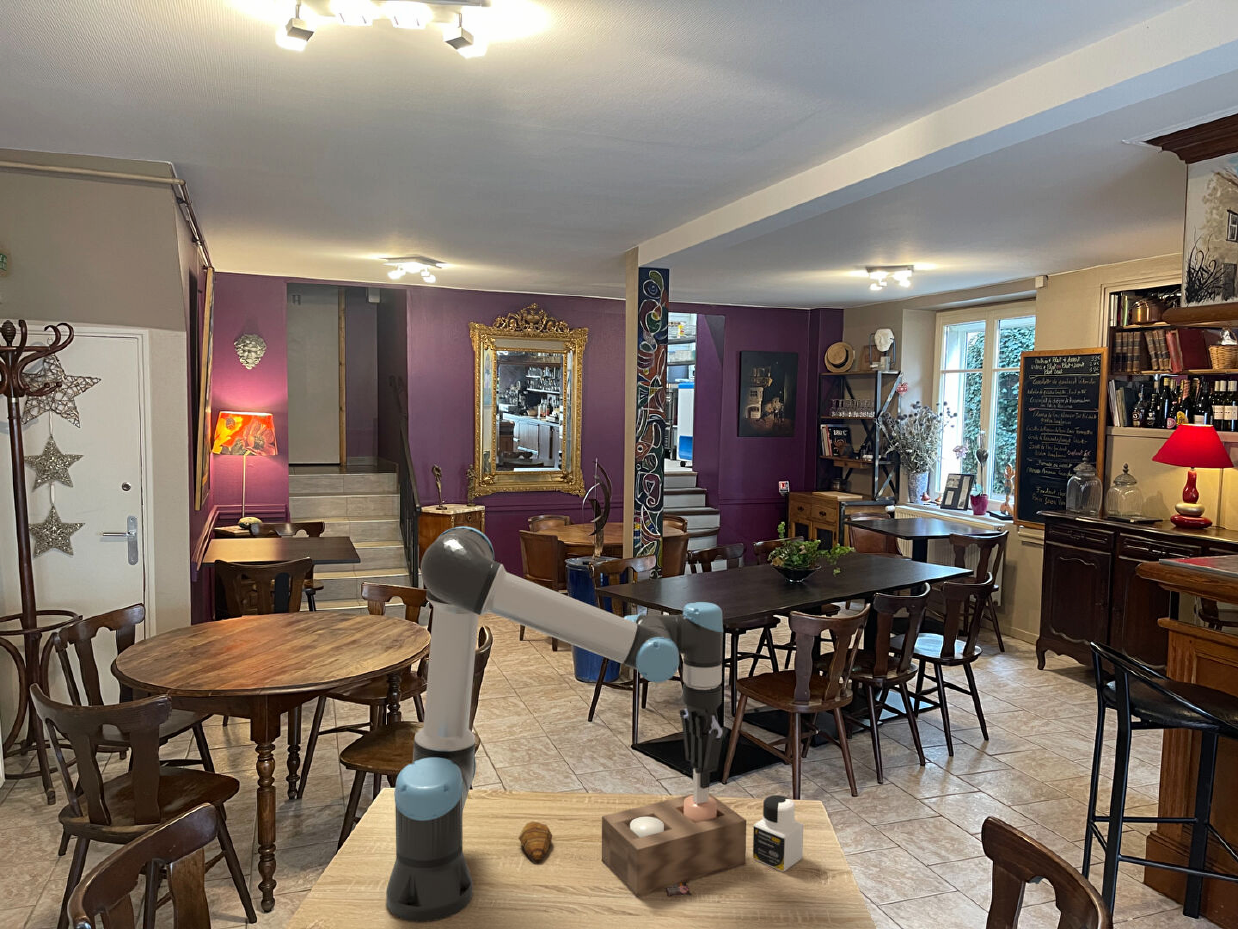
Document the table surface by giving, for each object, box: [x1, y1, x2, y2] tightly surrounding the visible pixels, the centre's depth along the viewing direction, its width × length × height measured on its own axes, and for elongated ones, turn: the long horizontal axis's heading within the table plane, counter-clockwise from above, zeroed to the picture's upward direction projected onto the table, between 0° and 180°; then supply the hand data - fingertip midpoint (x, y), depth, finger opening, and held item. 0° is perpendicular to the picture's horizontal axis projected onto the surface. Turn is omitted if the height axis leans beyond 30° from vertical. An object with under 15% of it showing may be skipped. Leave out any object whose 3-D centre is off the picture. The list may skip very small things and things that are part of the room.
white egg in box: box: [630, 817, 664, 837], centre depth 166 cm, size 6×6×8 cm
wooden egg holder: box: [601, 792, 747, 898], centre depth 169 cm, size 24×14×9 cm, turn 118°
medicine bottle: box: [752, 794, 804, 873], centre depth 171 cm, size 7×7×12 cm
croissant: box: [518, 821, 553, 863], centre depth 175 cm, size 14×7×5 cm, turn 10°
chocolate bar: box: [664, 882, 693, 898], centre depth 163 cm, size 11×5×1 cm, turn 10°
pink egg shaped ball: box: [684, 795, 717, 823], centre depth 172 cm, size 6×6×8 cm
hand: (700, 801), depth 172 cm, fingers closed
